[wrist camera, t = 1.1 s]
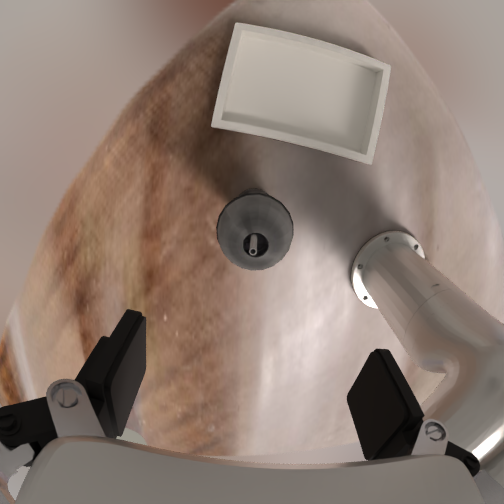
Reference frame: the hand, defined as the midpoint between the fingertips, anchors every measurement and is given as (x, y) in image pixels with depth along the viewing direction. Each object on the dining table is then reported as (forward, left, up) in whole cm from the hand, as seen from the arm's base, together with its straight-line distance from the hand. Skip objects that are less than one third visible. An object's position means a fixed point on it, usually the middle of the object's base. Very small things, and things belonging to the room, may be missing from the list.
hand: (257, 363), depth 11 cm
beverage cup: (0, 0, -30) cm, 30 cm away
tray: (-3, -16, -30) cm, 34 cm away
